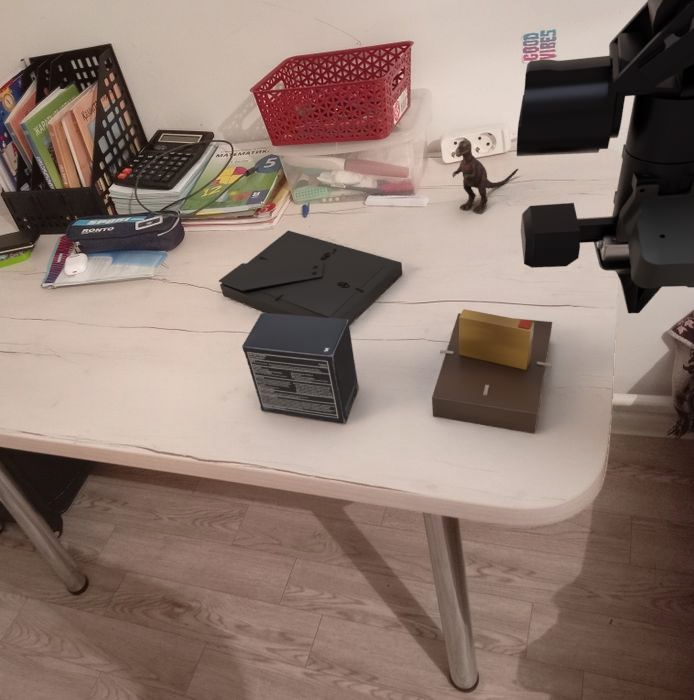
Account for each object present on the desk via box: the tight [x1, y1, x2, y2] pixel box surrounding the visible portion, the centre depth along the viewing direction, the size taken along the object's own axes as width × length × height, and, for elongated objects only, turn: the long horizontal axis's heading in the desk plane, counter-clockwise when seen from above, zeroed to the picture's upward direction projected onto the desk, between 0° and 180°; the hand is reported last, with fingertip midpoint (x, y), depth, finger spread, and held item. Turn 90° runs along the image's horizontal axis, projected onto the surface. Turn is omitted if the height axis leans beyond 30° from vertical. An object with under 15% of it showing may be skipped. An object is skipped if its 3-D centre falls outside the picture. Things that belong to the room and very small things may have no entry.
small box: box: [241, 312, 360, 424], centre depth 70 cm, size 11×6×10 cm, turn 65°
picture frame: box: [218, 230, 403, 326], centre depth 89 cm, size 16×3×21 cm
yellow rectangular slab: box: [459, 308, 534, 370], centre depth 65 cm, size 7×1×6 cm, turn 54°
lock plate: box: [431, 312, 553, 434], centre depth 68 cm, size 14×11×3 cm
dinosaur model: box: [452, 139, 520, 214], centre depth 92 cm, size 4×12×15 cm
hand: (632, 310), depth 55 cm, fingers closed
